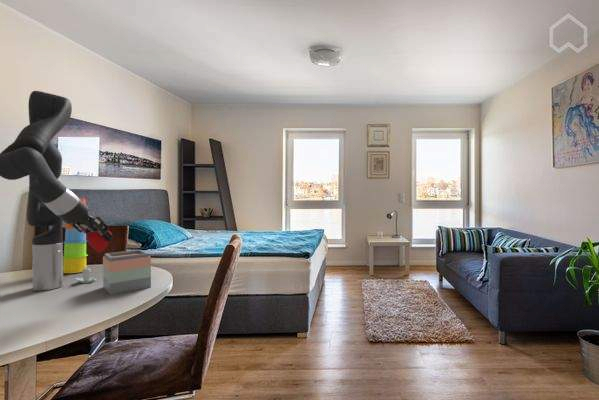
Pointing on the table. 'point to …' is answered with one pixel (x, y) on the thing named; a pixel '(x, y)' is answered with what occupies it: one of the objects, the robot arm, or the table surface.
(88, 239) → the strawberry
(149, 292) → the table surface
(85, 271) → the pacifier
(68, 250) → the stacking cups
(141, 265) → the pastel striped block
